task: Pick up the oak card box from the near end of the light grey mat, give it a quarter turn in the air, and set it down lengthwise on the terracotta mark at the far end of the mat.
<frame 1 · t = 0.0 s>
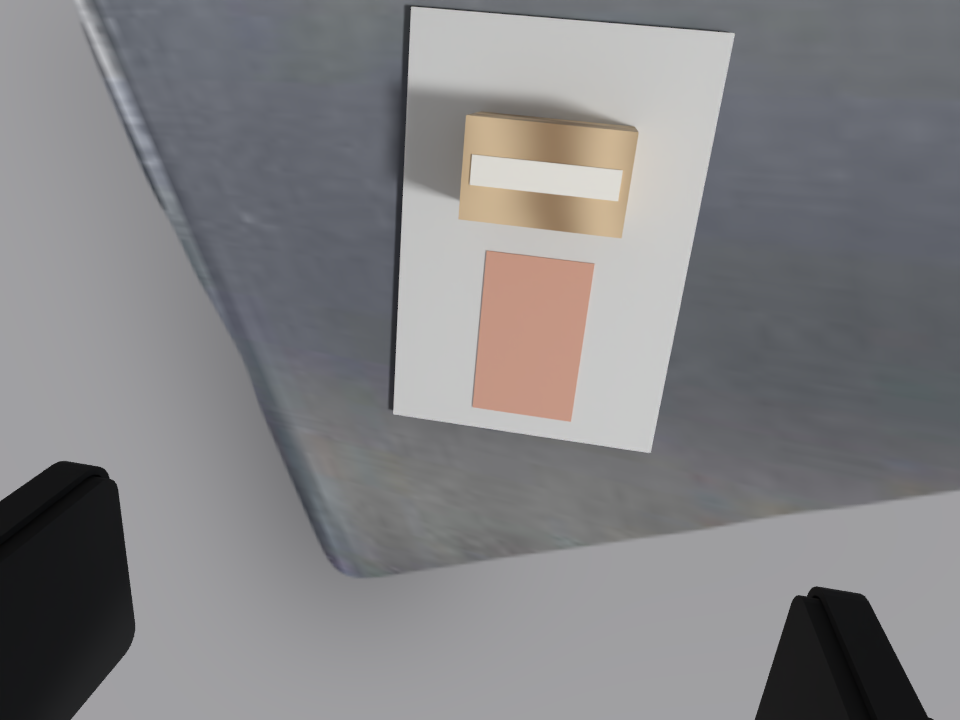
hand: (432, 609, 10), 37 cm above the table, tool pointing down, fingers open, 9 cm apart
mat: (541, 247, 45), on the table
card box: (551, 167, 42), resting on mat
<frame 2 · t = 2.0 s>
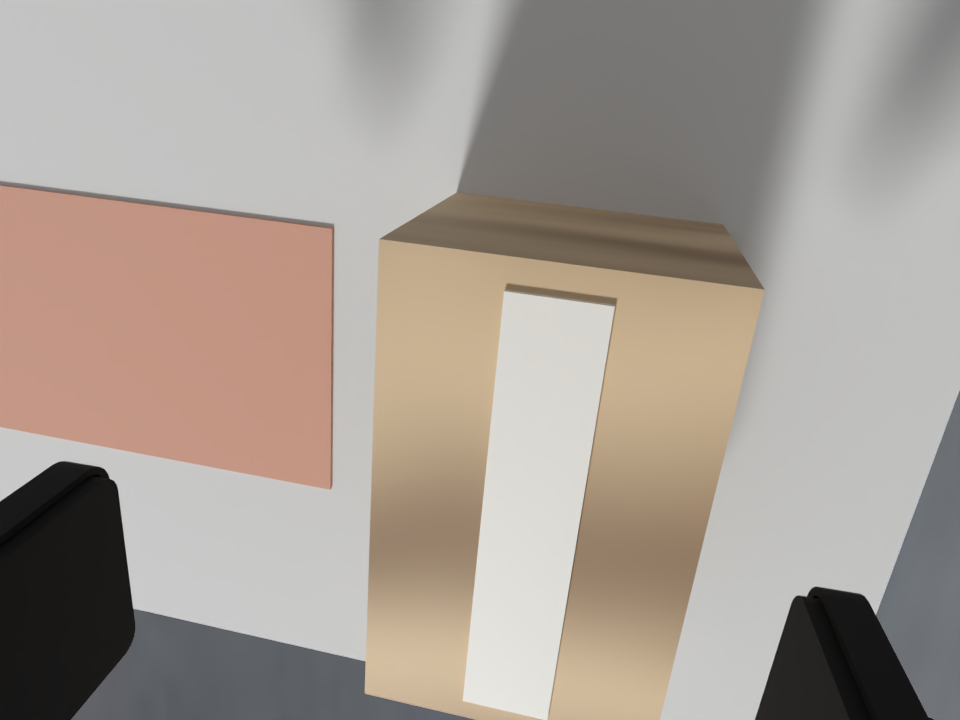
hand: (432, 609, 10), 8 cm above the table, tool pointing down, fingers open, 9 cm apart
mat: (359, 363, 18), on the table
card box: (558, 404, 16), resting on mat
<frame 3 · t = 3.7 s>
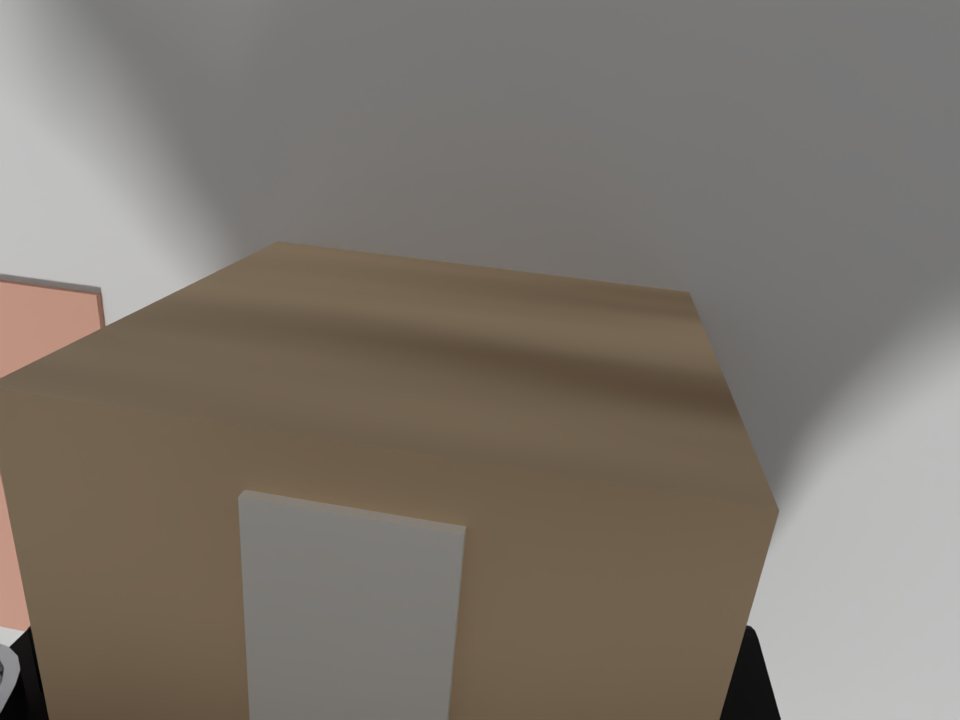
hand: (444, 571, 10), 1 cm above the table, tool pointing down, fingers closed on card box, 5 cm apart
mat: (170, 480, 12), on the table
card box: (452, 547, 11), resting on mat, touching gripper
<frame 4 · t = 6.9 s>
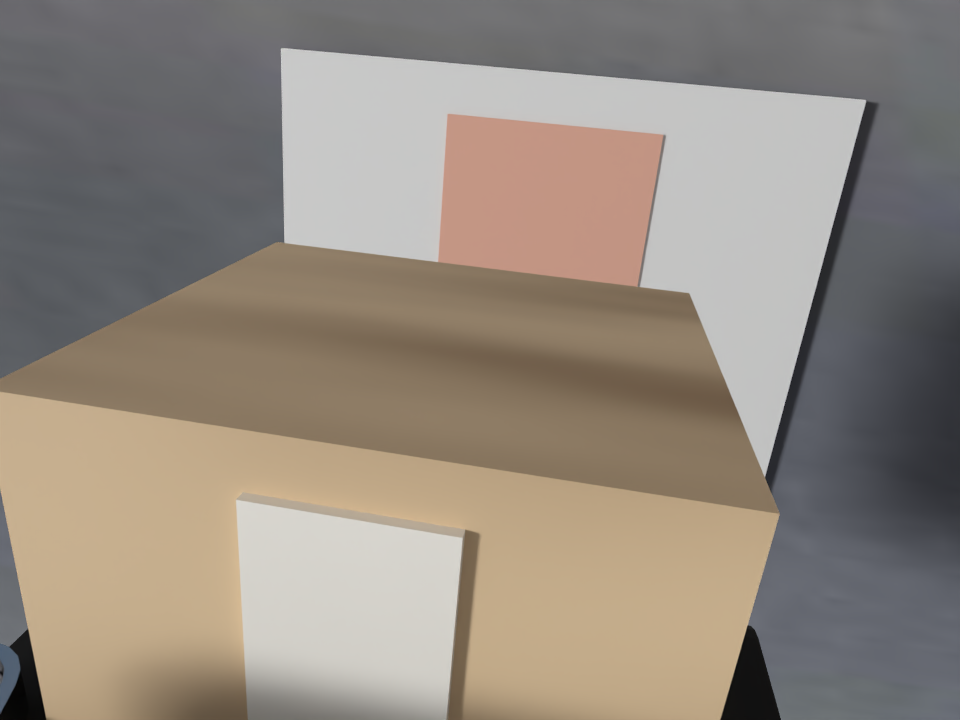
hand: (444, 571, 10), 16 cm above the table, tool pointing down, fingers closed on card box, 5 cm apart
mat: (517, 439, 27), on the table
card box: (452, 548, 11), point 15 cm above the table, touching gripper
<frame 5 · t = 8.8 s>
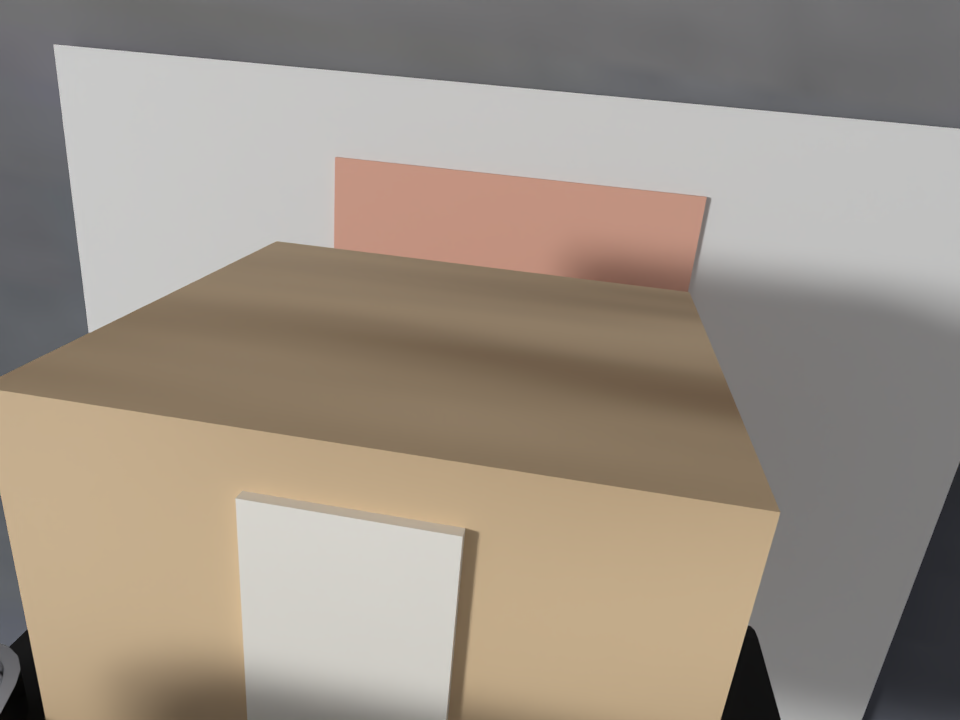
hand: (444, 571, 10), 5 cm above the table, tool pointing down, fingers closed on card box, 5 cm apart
mat: (469, 647, 18), on the table
card box: (452, 548, 11), point 5 cm above the table, touching gripper
when the fingers open (2 cm above the table, at t = 10.3 s): card box drops 1 cm, resting on mat.
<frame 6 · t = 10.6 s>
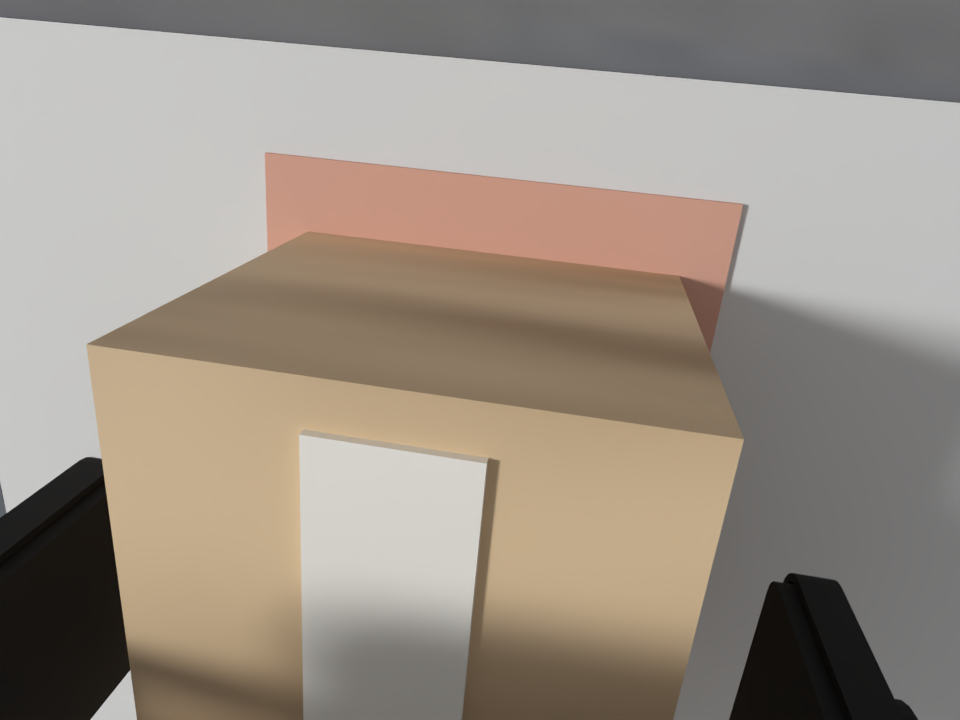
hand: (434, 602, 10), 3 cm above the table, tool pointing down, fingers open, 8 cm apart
card box: (464, 512, 12), point 1 cm above the table, touching mat
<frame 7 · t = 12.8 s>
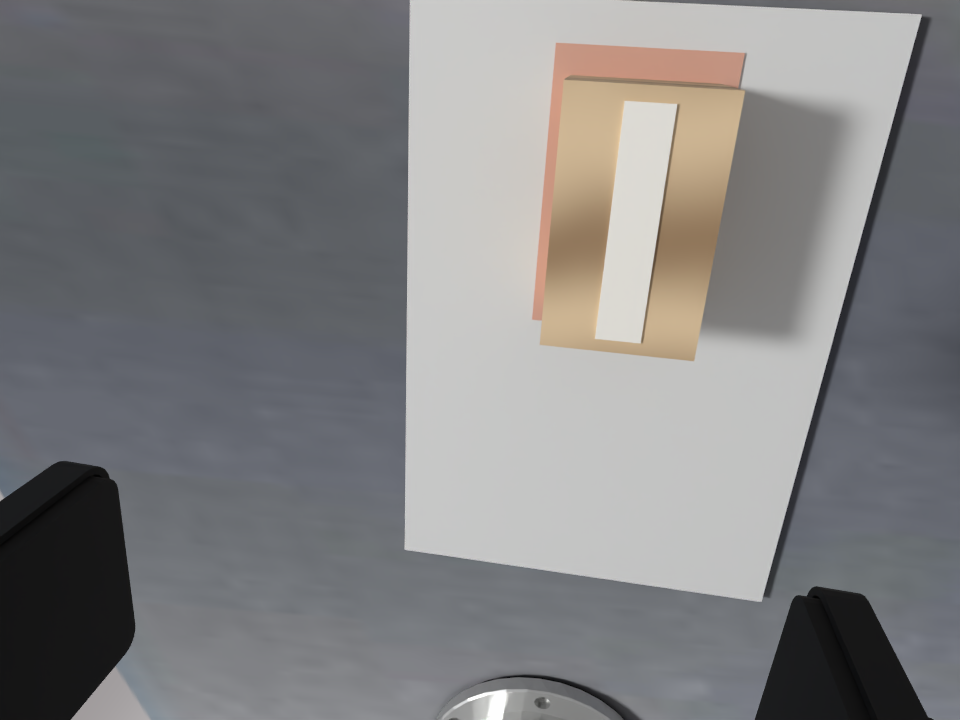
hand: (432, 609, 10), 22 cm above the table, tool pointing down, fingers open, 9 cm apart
mat: (609, 333, 31), on the table
card box: (628, 200, 28), point 1 cm above the table, touching mat
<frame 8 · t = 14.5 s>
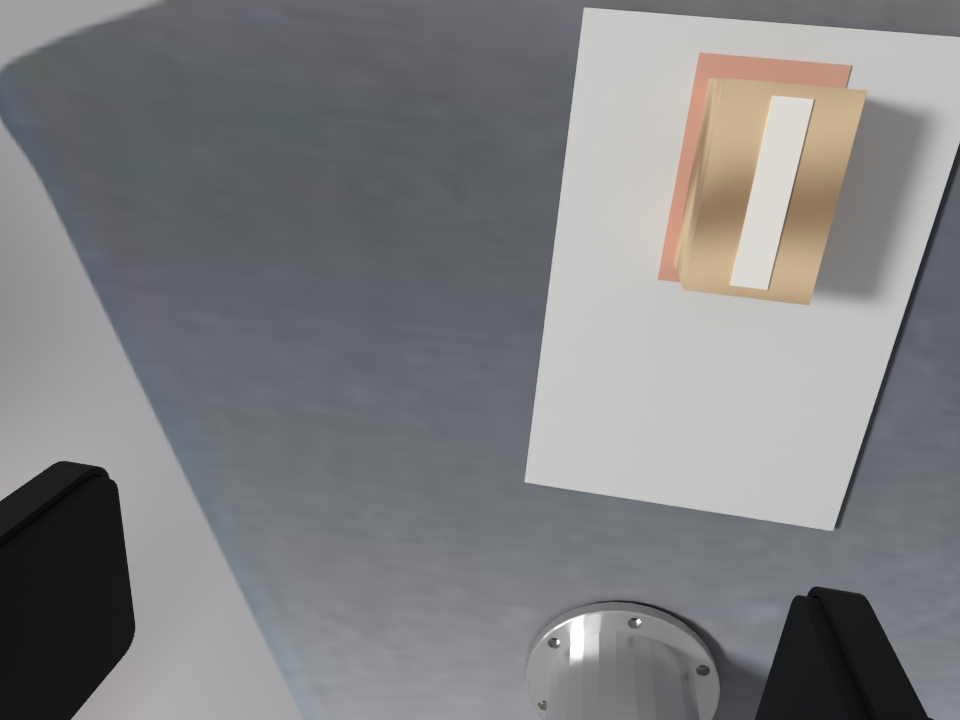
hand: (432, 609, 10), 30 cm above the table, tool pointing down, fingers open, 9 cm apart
mat: (720, 293, 38), on the table
card box: (747, 181, 35), point 1 cm above the table, touching mat
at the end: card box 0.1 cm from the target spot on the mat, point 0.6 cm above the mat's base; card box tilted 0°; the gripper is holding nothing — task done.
